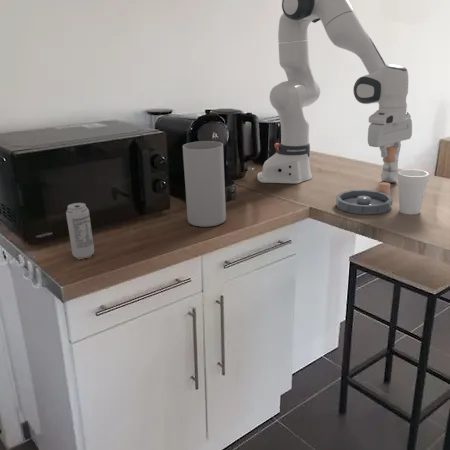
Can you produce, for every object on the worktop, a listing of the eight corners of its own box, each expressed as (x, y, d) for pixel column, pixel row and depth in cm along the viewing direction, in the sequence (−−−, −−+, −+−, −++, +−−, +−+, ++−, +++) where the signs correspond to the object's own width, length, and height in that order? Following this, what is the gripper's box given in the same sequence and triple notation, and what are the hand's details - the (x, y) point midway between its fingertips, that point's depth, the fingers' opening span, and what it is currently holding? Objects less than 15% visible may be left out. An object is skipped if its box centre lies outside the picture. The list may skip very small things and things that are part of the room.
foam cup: (425, 217, 162) (429, 177, 158) (394, 215, 165) (398, 176, 160) (423, 207, 171) (427, 169, 166) (394, 205, 173) (397, 168, 169)
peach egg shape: (390, 163, 174) (391, 148, 172) (380, 161, 177) (381, 147, 175) (397, 161, 176) (398, 146, 174) (387, 159, 179) (388, 145, 177)
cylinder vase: (233, 222, 165) (230, 145, 156) (199, 230, 159) (195, 151, 150) (213, 211, 175) (209, 139, 166) (181, 219, 168) (175, 144, 160)
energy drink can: (91, 249, 148) (84, 200, 142) (97, 256, 143) (90, 206, 137) (70, 254, 145) (62, 204, 139) (76, 262, 140) (68, 210, 135)
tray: (341, 215, 166) (342, 206, 165) (332, 198, 183) (333, 190, 182) (397, 214, 166) (398, 205, 164) (383, 197, 182) (384, 189, 181)
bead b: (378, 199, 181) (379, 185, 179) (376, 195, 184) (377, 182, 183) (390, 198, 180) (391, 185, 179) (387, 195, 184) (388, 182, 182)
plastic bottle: (395, 179, 203) (400, 129, 195) (399, 184, 196) (404, 132, 189) (379, 179, 203) (382, 129, 196) (382, 184, 197) (386, 132, 190)
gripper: (402, 110, 179) (399, 149, 184) (365, 118, 168) (363, 159, 172) (418, 112, 174) (414, 152, 179) (381, 120, 163) (378, 162, 168)
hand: (389, 155), depth 176 cm, fingers closed on peach egg shape, 4 cm apart
